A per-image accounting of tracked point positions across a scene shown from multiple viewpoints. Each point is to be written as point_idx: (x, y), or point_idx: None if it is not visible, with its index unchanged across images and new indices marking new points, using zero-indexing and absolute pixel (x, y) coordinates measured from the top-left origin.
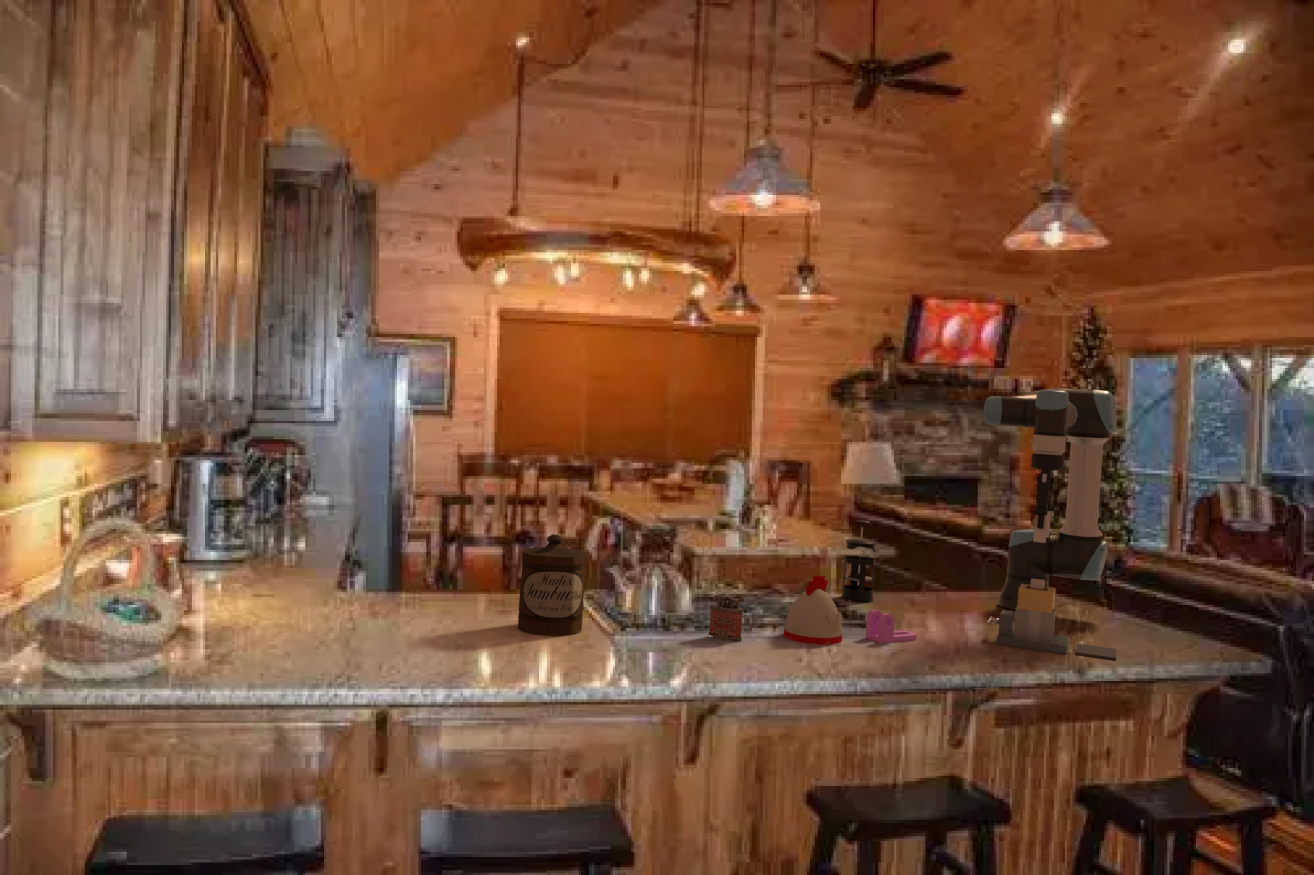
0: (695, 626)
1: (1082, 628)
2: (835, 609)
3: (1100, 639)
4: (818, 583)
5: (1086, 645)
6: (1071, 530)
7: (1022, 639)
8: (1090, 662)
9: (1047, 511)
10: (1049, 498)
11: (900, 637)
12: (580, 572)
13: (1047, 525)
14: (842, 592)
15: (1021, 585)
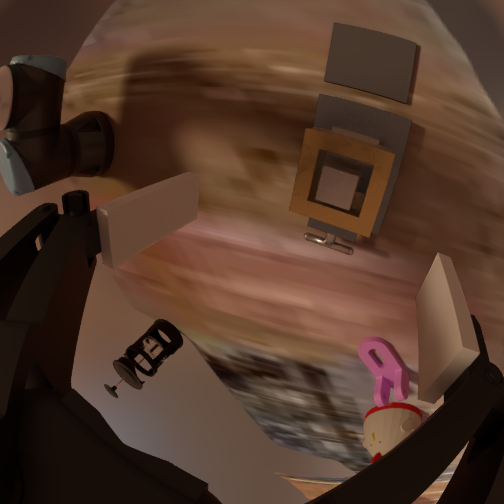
0: (366, 462)
1: (171, 65)
2: (402, 436)
3: (241, 38)
4: None
5: (333, 67)
6: (3, 111)
7: (390, 194)
8: (455, 97)
9: (108, 229)
10: (62, 281)
11: (396, 360)
12: None
13: (164, 197)
14: (171, 350)
15: (316, 217)
